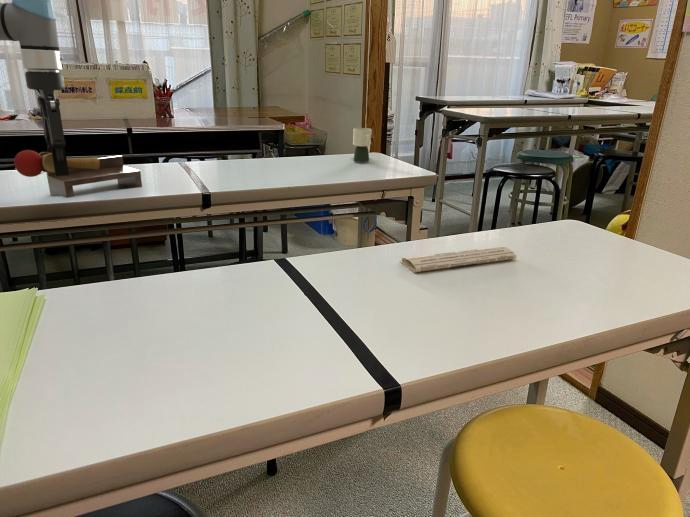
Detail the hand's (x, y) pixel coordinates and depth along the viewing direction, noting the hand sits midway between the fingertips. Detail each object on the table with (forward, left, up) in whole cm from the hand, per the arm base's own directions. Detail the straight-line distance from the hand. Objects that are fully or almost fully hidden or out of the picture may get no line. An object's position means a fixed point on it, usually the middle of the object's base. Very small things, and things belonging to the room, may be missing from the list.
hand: (59, 172), depth 123 cm
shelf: (+11, +23, -11) cm, 28 cm away
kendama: (0, 0, -1) cm, 1 cm away
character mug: (+109, +25, -11) cm, 113 cm away
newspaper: (+62, -73, -11) cm, 96 cm away
